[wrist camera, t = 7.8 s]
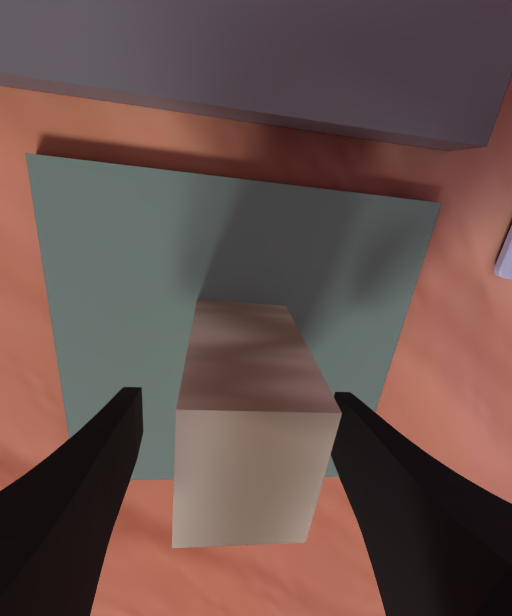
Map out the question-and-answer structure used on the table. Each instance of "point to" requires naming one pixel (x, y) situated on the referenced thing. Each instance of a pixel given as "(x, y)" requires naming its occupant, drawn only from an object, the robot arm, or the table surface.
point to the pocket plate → (276, 61)
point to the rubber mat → (213, 279)
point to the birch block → (249, 429)
